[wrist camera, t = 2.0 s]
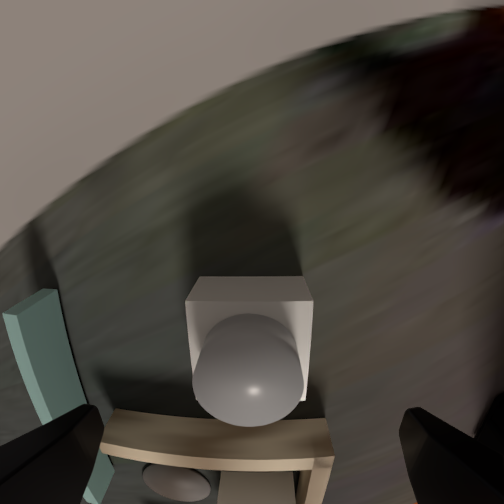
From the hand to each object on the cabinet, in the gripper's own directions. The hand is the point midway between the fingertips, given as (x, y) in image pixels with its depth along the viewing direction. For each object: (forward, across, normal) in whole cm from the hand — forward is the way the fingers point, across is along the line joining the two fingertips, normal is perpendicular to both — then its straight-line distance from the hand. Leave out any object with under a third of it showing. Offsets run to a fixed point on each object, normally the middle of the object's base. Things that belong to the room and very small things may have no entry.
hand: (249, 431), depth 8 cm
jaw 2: (+7, 0, +13) cm, 15 cm away
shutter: (+7, +10, +5) cm, 14 cm away
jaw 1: (+7, 0, 0) cm, 7 cm away
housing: (+7, +2, +13) cm, 15 cm away
